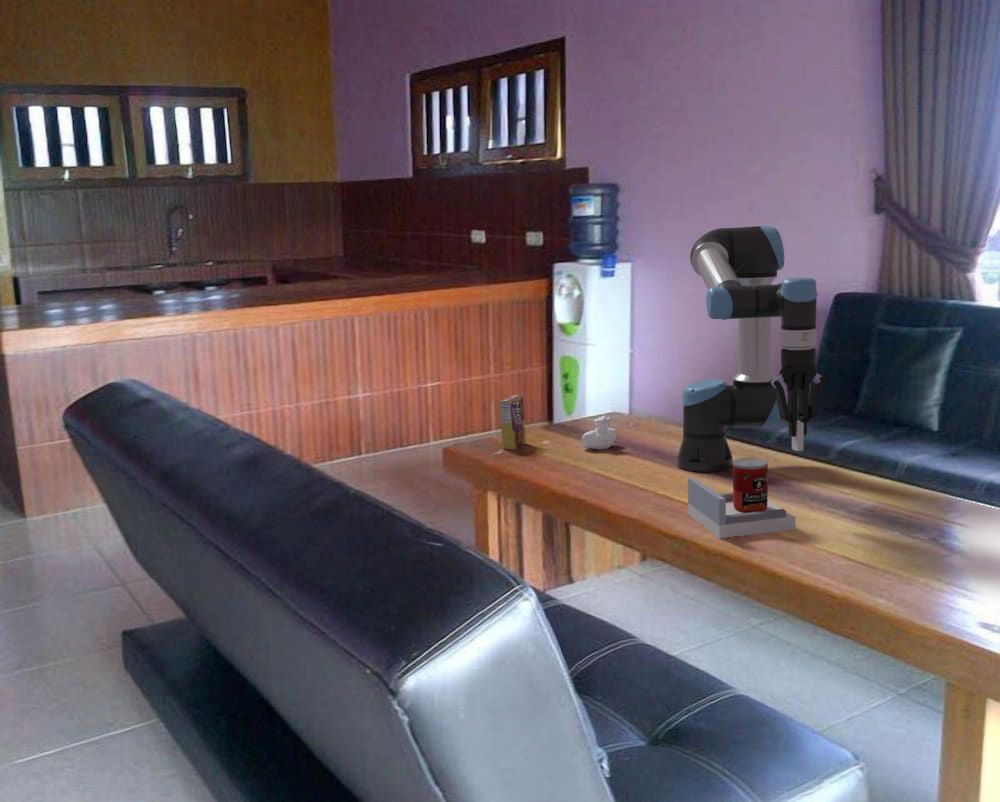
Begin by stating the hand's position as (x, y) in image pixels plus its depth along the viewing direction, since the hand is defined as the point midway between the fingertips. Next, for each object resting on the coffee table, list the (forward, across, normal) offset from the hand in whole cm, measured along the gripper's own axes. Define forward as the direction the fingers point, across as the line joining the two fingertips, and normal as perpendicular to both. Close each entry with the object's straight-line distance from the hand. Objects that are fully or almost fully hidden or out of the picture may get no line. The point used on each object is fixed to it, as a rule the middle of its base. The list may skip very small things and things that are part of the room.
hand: (797, 449), depth 232 cm
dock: (+16, -14, 0) cm, 21 cm away
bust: (+15, -23, +78) cm, 83 cm away
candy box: (+15, -47, +91) cm, 104 cm away
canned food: (+13, -11, 0) cm, 17 cm away
